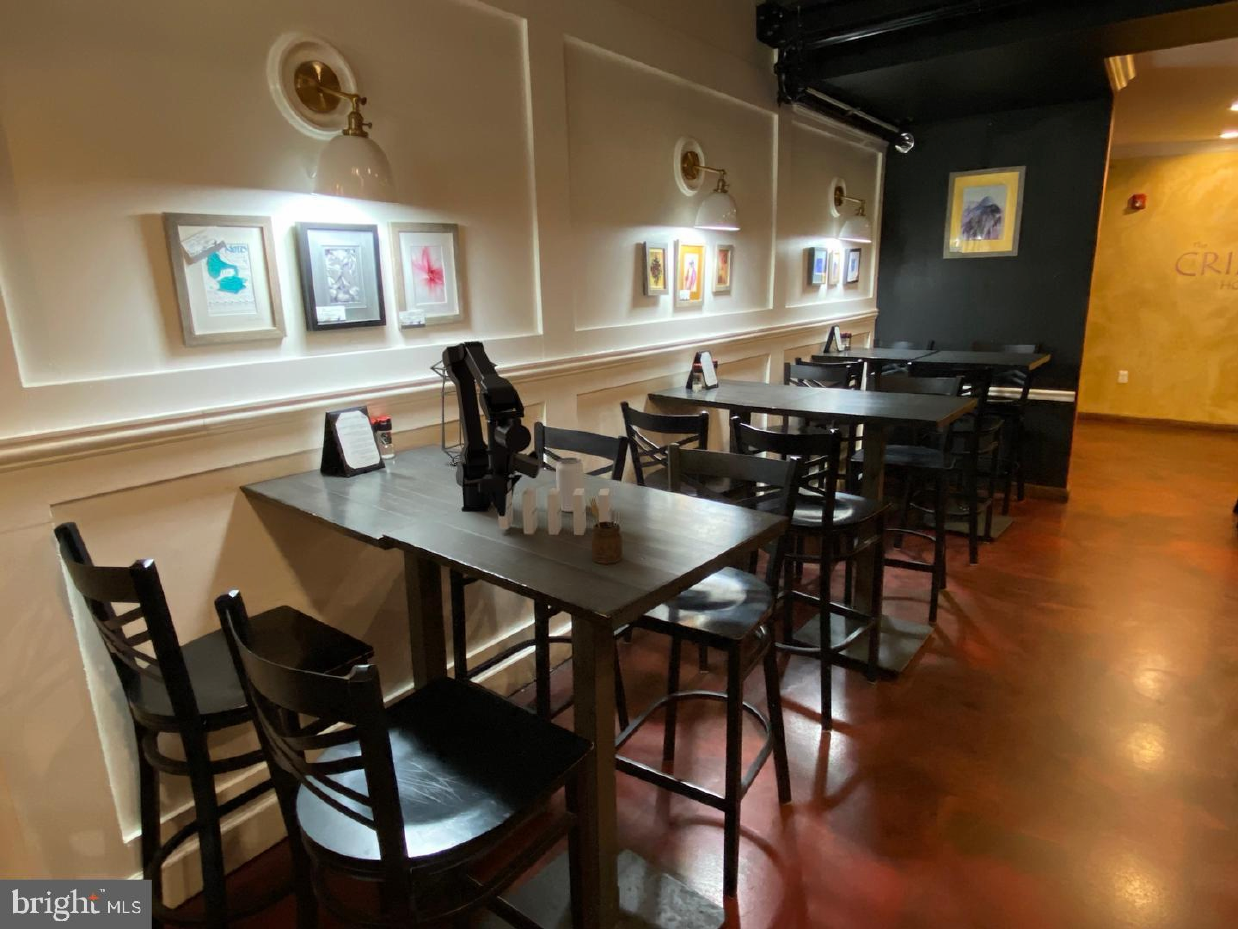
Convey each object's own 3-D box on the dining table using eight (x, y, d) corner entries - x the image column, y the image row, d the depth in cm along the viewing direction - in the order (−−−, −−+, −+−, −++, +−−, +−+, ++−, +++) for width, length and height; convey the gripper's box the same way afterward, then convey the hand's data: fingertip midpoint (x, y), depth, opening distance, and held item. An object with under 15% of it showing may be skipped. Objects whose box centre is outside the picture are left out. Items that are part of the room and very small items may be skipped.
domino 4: (573, 534, 154) (572, 495, 152) (577, 527, 159) (575, 488, 157) (583, 535, 154) (582, 495, 152) (586, 527, 159) (585, 488, 156)
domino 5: (598, 535, 154) (597, 495, 151) (601, 527, 158) (600, 488, 156) (608, 535, 153) (607, 495, 151) (610, 527, 158) (610, 488, 156)
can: (580, 513, 168) (579, 464, 165) (554, 511, 170) (552, 463, 167) (587, 505, 175) (585, 457, 172) (561, 503, 176) (559, 456, 173)
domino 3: (548, 534, 154) (546, 494, 152) (552, 526, 159) (551, 488, 157) (558, 534, 154) (556, 494, 152) (562, 527, 159) (560, 488, 157)
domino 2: (523, 534, 155) (521, 494, 153) (528, 526, 160) (526, 488, 158) (533, 534, 155) (531, 494, 153) (537, 526, 160) (536, 488, 157)
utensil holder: (612, 567, 136) (610, 507, 133) (584, 560, 139) (583, 502, 136) (628, 557, 141) (627, 499, 138) (601, 551, 144) (600, 494, 141)
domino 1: (498, 529, 155) (496, 489, 153) (504, 521, 160) (502, 483, 158) (508, 529, 155) (505, 489, 153) (513, 521, 160) (511, 483, 158)
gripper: (529, 453, 143) (532, 526, 147) (546, 434, 161) (549, 500, 165) (475, 453, 144) (480, 526, 148) (498, 434, 162) (501, 499, 166)
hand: (505, 512), depth 157 cm, fingers closed on domino 1, 5 cm apart
